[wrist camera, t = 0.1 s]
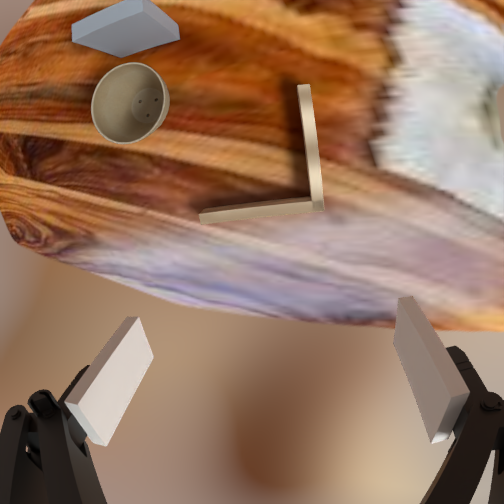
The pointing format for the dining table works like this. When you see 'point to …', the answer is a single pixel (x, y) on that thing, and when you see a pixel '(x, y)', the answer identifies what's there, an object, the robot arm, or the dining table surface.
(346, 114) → the dining table surface
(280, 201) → the l-shaped bracket
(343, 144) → the dining table surface
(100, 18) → the pale blue rectangular prism
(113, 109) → the flower pot
